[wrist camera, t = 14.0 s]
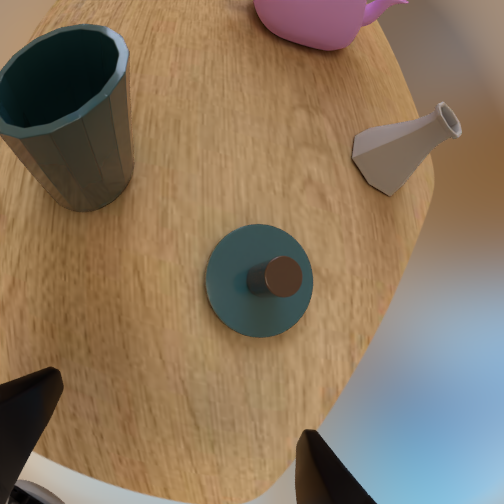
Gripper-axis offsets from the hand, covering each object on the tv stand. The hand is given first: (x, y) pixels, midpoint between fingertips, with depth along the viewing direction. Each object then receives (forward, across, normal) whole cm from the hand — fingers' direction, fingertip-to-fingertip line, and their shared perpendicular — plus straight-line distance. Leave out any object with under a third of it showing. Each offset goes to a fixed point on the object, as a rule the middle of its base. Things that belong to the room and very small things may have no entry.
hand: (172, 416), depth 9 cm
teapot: (+28, -3, -29) cm, 40 cm away
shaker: (+12, +11, -7) cm, 18 cm away
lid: (+13, -3, -1) cm, 13 cm away
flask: (+22, -13, -12) cm, 28 cm away
